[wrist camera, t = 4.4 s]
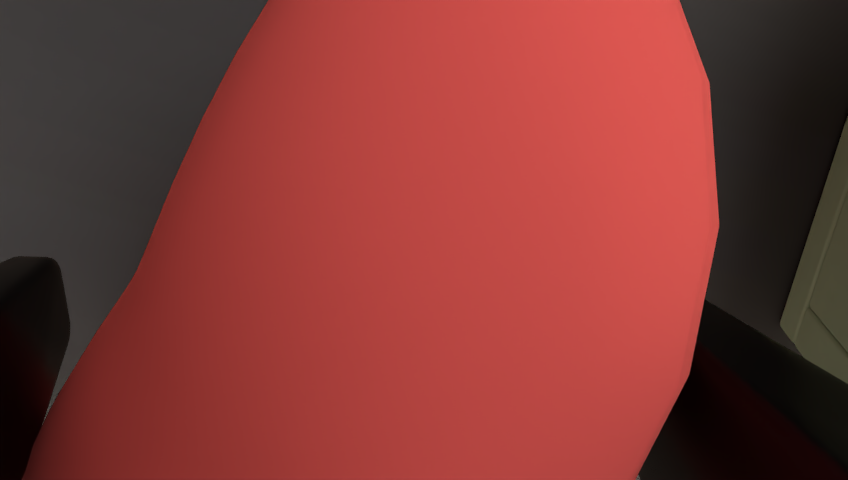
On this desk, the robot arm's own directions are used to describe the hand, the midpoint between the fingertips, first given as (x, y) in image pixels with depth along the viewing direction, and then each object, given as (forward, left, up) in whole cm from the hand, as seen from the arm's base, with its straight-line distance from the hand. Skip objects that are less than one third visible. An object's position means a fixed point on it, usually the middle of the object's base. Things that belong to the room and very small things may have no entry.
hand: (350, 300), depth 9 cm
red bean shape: (0, 0, -1) cm, 1 cm away
